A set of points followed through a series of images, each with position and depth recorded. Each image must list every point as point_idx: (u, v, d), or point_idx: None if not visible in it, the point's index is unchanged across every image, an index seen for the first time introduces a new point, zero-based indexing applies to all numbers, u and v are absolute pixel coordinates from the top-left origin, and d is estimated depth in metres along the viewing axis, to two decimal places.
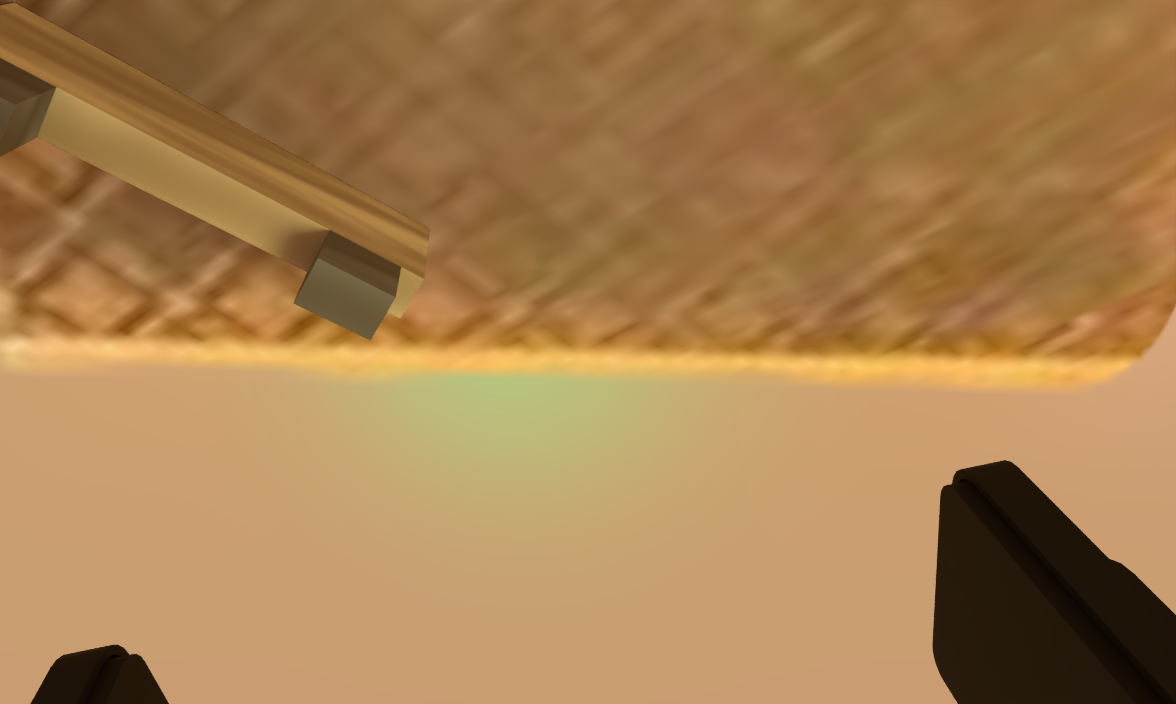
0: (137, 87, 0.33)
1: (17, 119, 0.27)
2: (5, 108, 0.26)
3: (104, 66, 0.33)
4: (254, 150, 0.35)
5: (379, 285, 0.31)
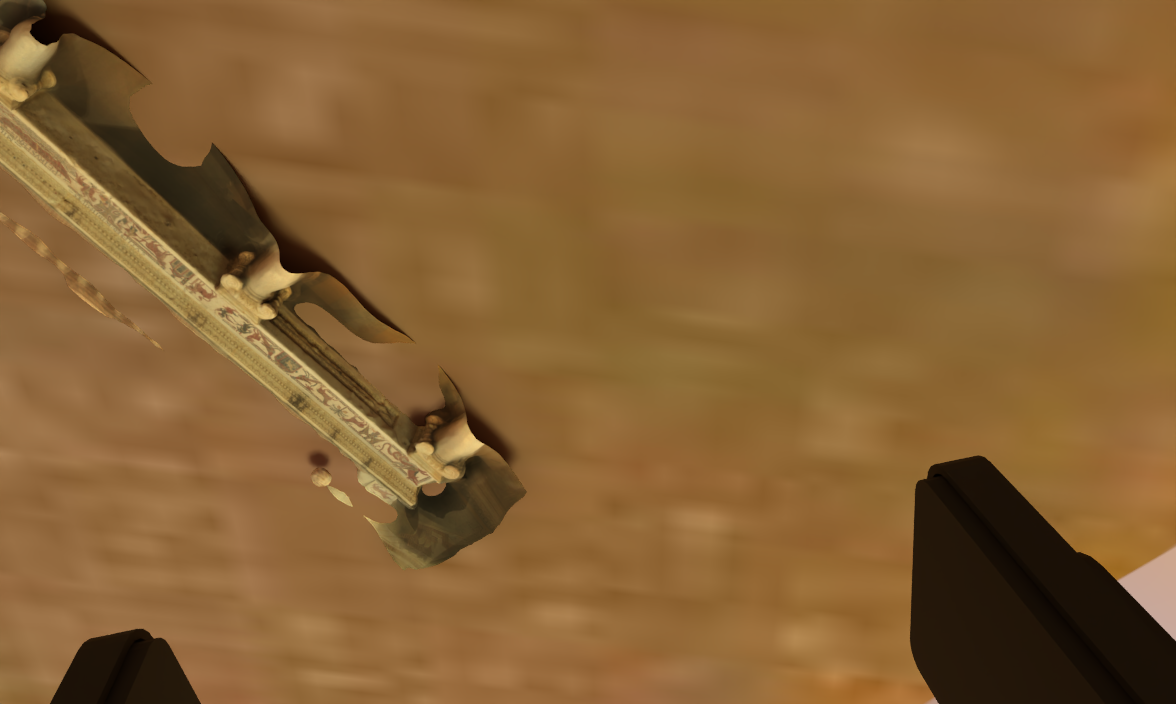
0: None
1: None
2: None
3: None
4: None
5: None
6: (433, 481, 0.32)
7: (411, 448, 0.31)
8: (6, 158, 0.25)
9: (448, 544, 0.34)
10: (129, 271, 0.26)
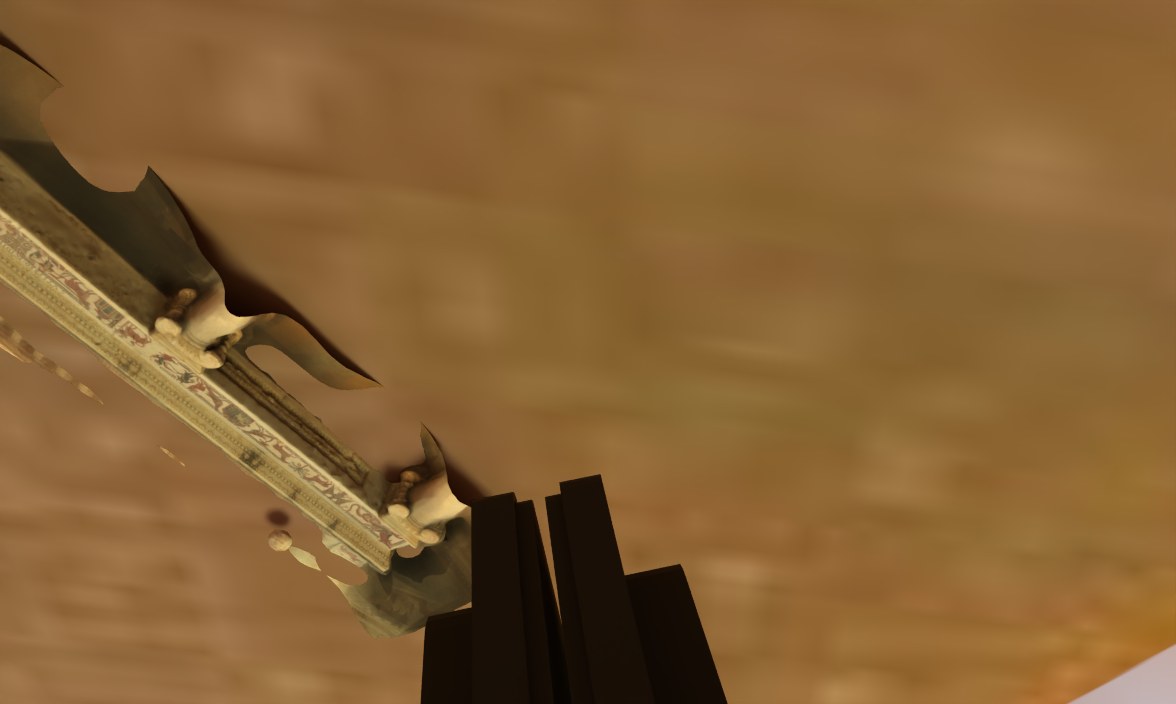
0: None
1: None
2: None
3: None
4: None
5: None
6: (409, 545, 0.28)
7: (383, 509, 0.27)
8: None
9: (426, 610, 0.30)
10: (46, 312, 0.22)
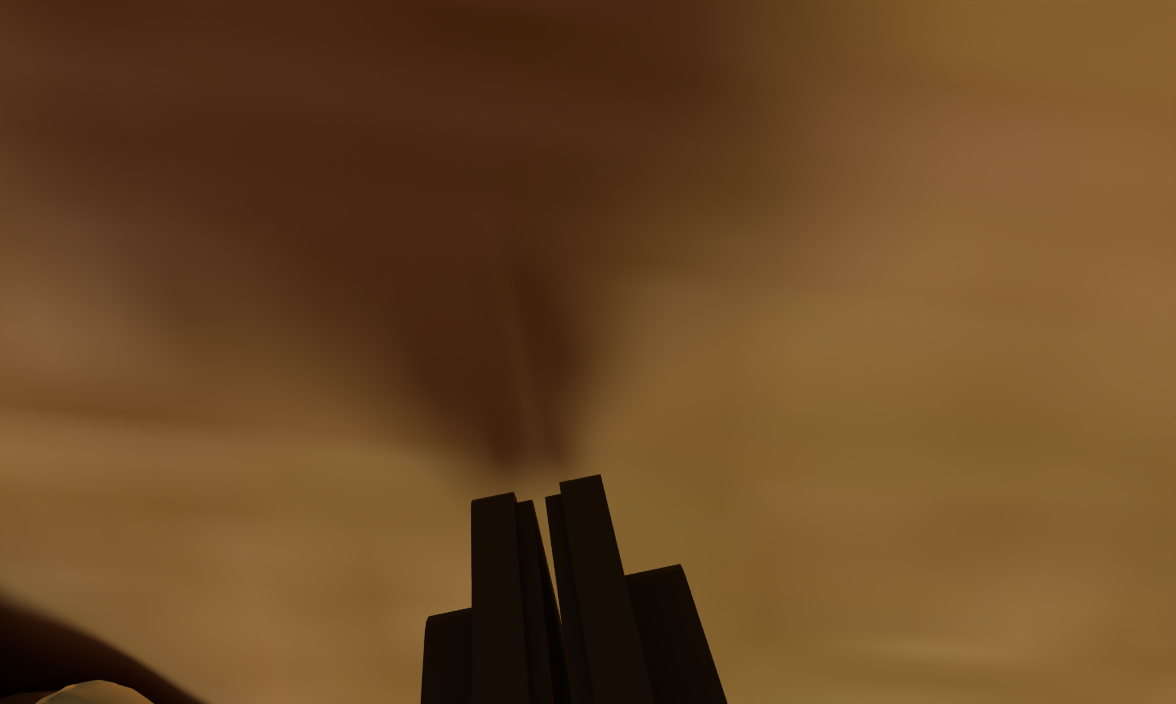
0: None
1: None
2: None
3: None
4: None
5: None
6: None
7: None
8: None
9: None
10: None
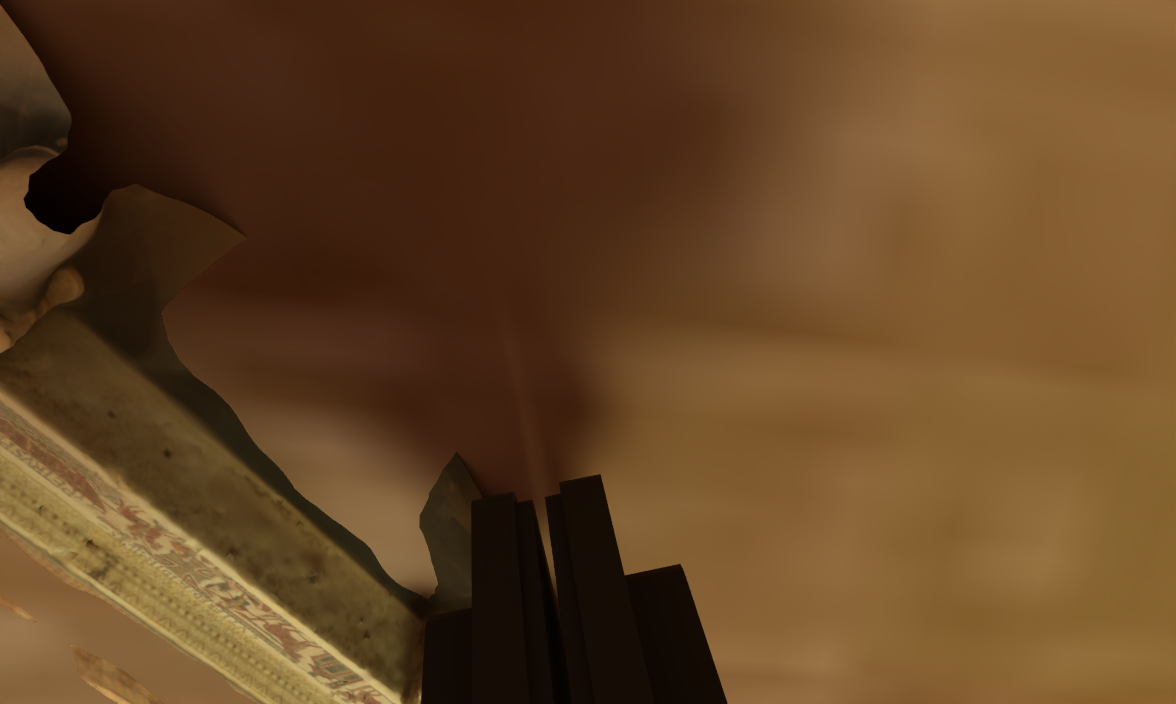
0: None
1: None
2: None
3: None
4: None
5: None
6: None
7: None
8: None
9: None
10: (221, 672, 0.12)
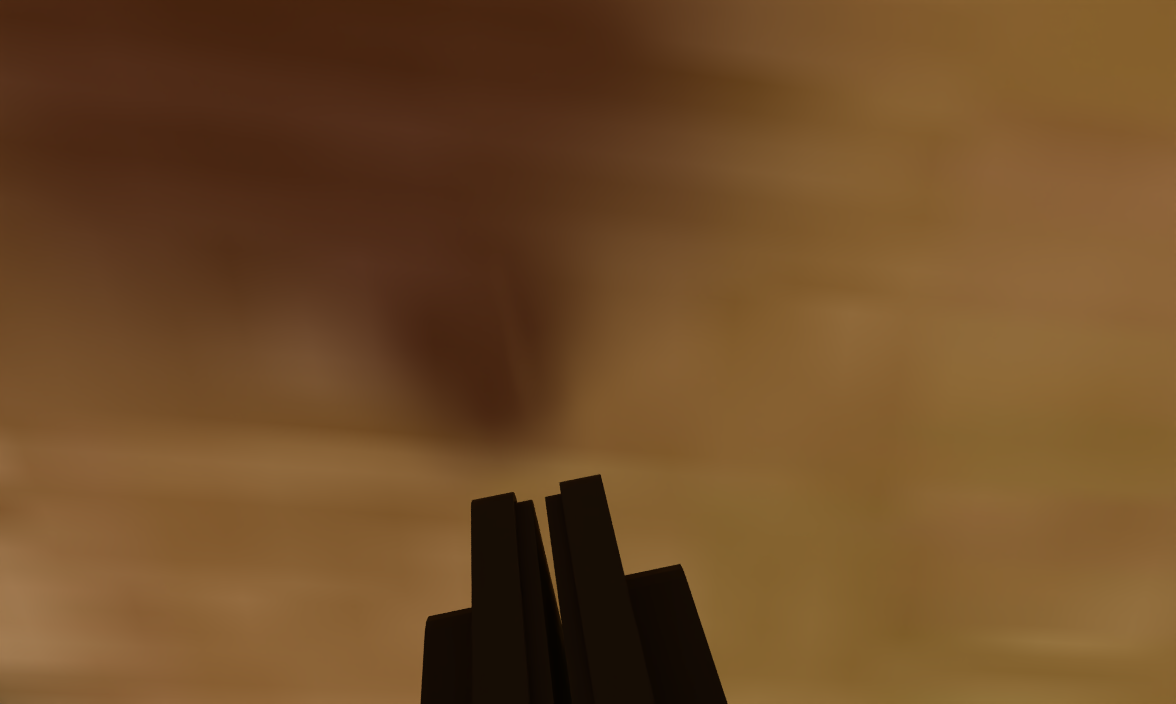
0: None
1: None
2: None
3: None
4: None
5: None
6: None
7: None
8: None
9: None
10: None
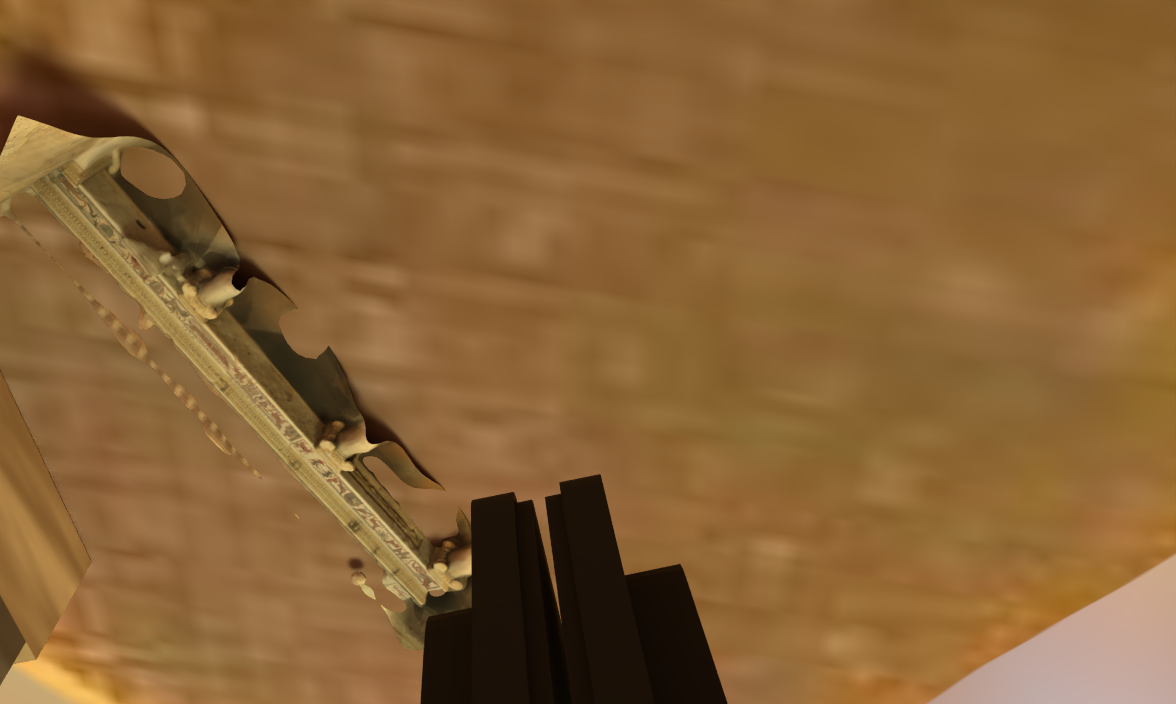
0: None
1: None
2: None
3: None
4: (1, 442, 0.34)
5: None
6: (441, 589, 0.42)
7: (429, 565, 0.42)
8: (188, 350, 0.35)
9: None
10: (254, 429, 0.37)
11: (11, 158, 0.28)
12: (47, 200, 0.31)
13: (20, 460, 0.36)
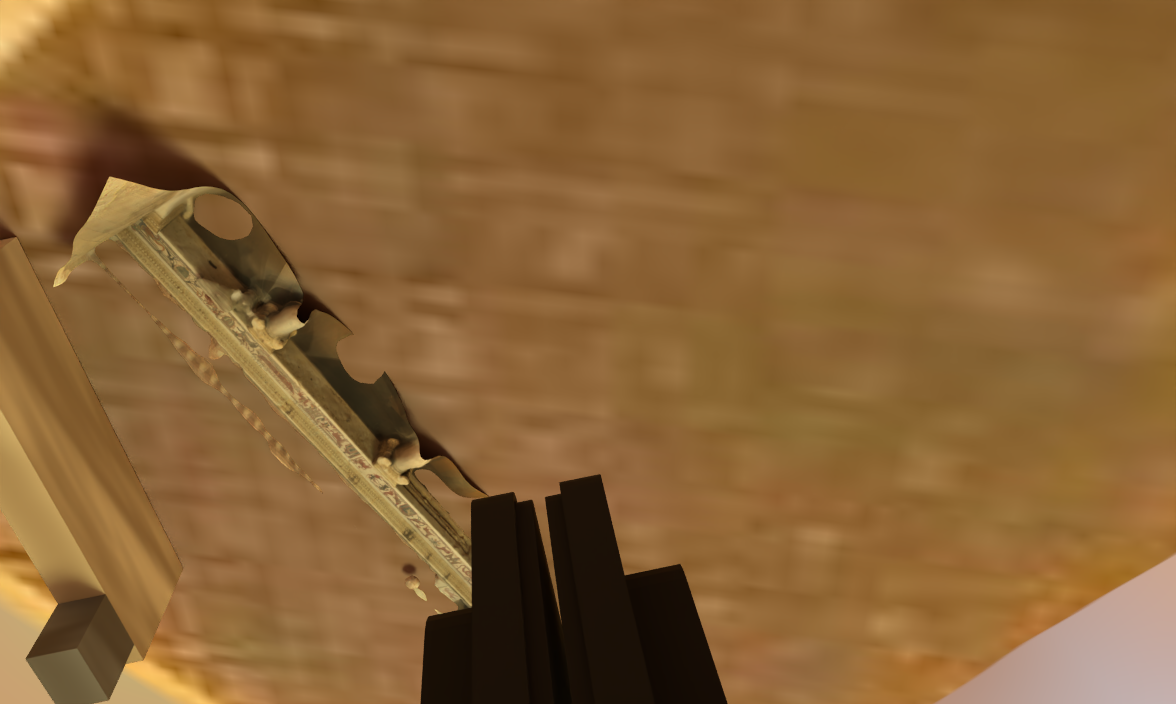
0: (55, 373, 0.35)
1: None
2: None
3: (43, 340, 0.35)
4: (102, 463, 0.38)
5: (104, 683, 0.35)
6: None
7: None
8: (256, 378, 0.38)
9: None
10: (317, 448, 0.40)
11: (102, 213, 0.31)
12: (129, 246, 0.34)
13: (119, 479, 0.39)
